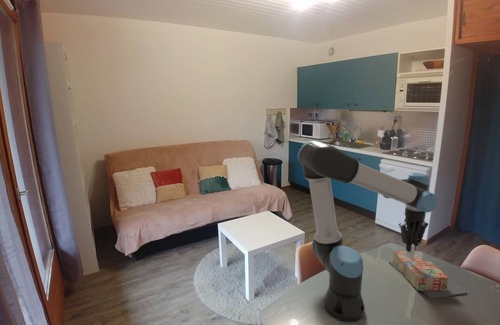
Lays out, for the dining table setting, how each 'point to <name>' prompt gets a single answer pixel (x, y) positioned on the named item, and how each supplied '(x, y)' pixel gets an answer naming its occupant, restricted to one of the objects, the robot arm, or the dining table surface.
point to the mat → (451, 291)
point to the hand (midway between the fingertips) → (409, 257)
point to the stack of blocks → (420, 272)
